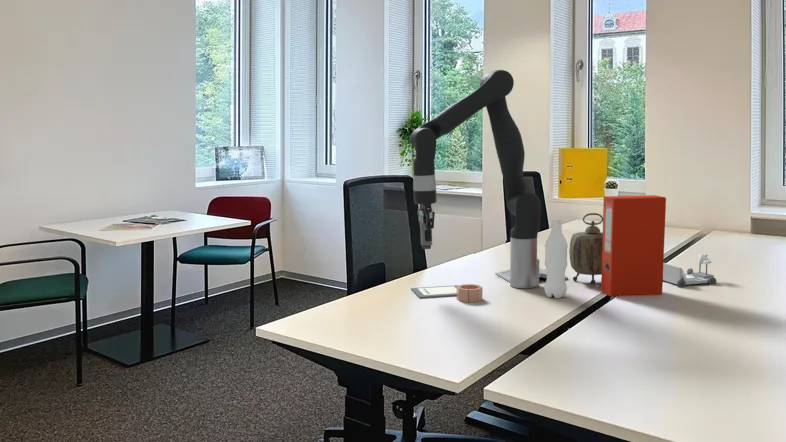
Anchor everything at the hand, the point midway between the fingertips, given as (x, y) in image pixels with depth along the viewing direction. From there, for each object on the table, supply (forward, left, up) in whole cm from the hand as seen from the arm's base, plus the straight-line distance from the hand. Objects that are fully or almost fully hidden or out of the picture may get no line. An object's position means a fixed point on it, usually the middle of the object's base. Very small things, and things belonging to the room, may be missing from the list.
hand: (426, 239), depth 209 cm
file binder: (-65, +17, -19) cm, 70 cm away
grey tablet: (-4, -1, -18) cm, 19 cm away
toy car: (-94, +8, -19) cm, 96 cm away
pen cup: (-11, +11, -18) cm, 24 cm away
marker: (0, 0, -3) cm, 3 cm away
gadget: (-43, -14, -19) cm, 50 cm away
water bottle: (-39, +15, -19) cm, 46 cm away
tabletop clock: (-60, 0, -19) cm, 63 cm away
